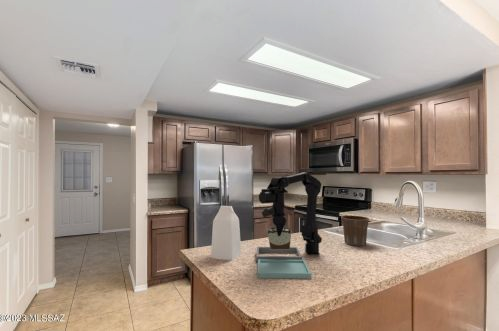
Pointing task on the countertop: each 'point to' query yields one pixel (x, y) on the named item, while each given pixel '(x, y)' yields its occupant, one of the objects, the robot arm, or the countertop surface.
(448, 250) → the countertop surface
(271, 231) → the food container
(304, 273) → the tray
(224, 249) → the milk
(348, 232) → the plant pot
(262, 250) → the grey rectangular frame
